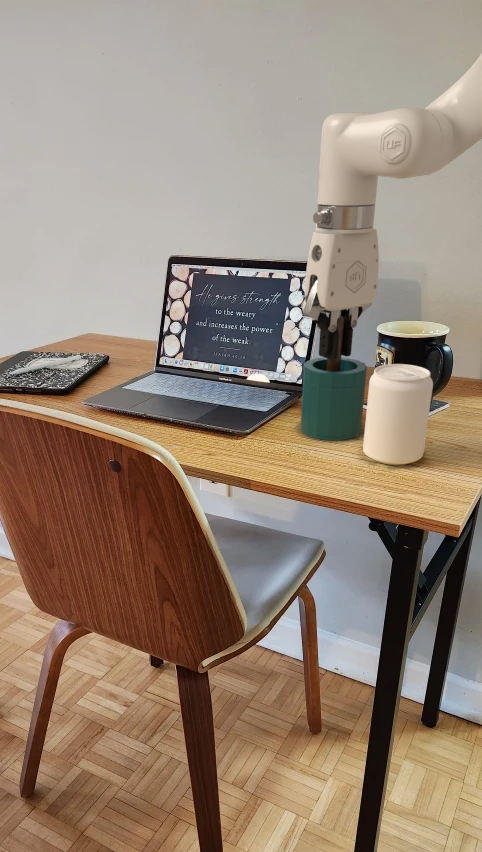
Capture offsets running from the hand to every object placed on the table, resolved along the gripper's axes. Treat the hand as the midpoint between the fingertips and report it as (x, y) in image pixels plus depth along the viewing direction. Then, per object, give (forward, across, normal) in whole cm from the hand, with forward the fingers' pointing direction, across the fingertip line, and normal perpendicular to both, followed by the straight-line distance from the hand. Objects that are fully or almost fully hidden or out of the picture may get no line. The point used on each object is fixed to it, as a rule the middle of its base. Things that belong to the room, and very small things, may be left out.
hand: (334, 354), depth 99 cm
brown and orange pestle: (+8, 0, 0) cm, 8 cm away
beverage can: (+12, 0, -13) cm, 17 cm away
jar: (+12, 0, 0) cm, 12 cm away
